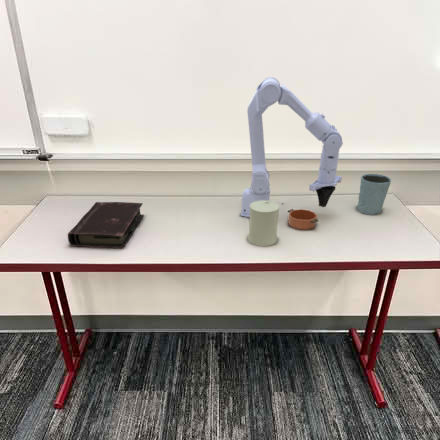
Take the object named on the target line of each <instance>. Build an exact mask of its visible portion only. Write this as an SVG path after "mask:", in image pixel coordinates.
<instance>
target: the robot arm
mask: <svg viewBox="0 0 440 440" xmlns="http://www.w3.org/2000/svg"><path fill="white" fill-rule="evenodd" d="M276 103H278V105H281V106H287V107H288V108H290V109H291V110H292V111H293V112H294V113H295V114H296V115H297V116H299V118H301V119H302V120H303V121H304V127H305V129H306V130H307V131H308V132H309V133H310V134H311V135H313V136H314V138H316V139H317V140H318V141H319V142H321V143H322V144H323V145H322V148H321V153H320V159H319V167H318V176H317V179H316V180H315V181H314V182H312V183H310V184H309V188H308V191H310V192H316V195H317V199H318V206H319V207H321V208H326V207H327V205H328V203H329V200H330V198H331V196H332V194H334V192H335V191H336V186H337V185H338V184H340V183H342V179H343V177H342V176H341V175H337V171H338V170H337V169H338V164H339V157H340V154H339V153H340V149H341V148H342V146H343V144H344V143H343V137H342V136H341V133H340V131H338V129H337V128H336V126H335V125H334V124H332V125H331V123H329V121H328V120H327V119H326V116H325V115H324V114H323V113H320V112H312V111H311V110H310V109H309V108H308V107H307V106H306V105H305V104H304V103H303V102H302V101H301V99H300V98H299V97H298V96H297V95H296V94H295V93H294V92H293V91H292V90H291V89H289V88H288V87H287V86H286V85H284V84H283V83H282V82H280V81H279V80H278V79H277V78H276V77H273V76H272V77H271V76H270V77H266V78H265V79H263V80H262V81H261V82H260V83H259V84H258V85H257V87H256V90H255V92H254V93H253V96H252V97H251V99H250V102H249V104H248V105H247V121H248V132H249V144H250V154H251V155H250V156H251V167H252V173H251V183H250V187H249V188H244V190H243V192H242V196H241V213H240V216H241V217H245V218H250V204H251V203H253V202H255V201H261V200H266V201H271V200H270V198H271V189H270V186H271V184H270V172H269V171H268V169H267V163H266V151H265V150H266V149H265V138H264V123H263V114H264V113H265V111H266V110H268V108H270V107H271V106H272V105H275V104H276Z"/></svg>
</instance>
